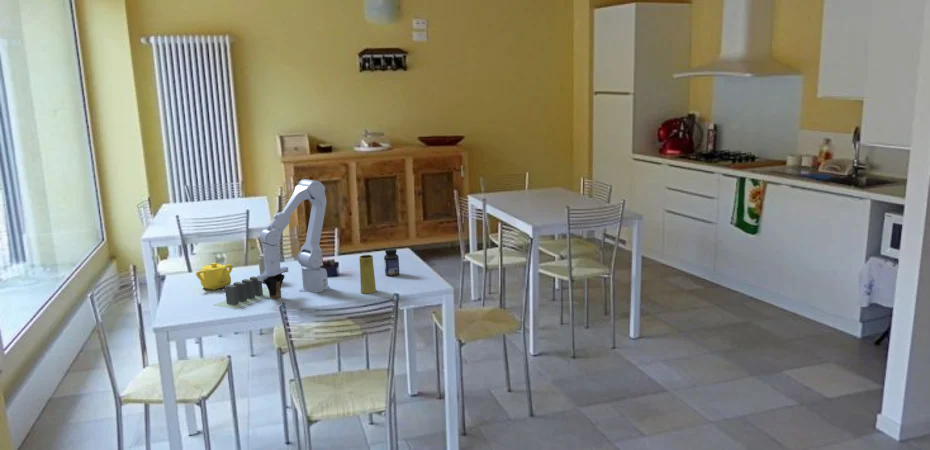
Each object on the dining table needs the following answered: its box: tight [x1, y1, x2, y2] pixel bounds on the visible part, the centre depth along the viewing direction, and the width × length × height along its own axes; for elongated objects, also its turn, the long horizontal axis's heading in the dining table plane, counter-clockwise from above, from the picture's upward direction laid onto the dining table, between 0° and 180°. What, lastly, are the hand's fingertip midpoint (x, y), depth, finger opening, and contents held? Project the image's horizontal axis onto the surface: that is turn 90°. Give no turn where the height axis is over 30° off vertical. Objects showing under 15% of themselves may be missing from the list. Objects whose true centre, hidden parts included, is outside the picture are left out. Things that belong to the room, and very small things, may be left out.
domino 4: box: [249, 276, 263, 296], centre depth 278 cm, size 2×4×7 cm, turn 61°
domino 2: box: [232, 281, 247, 302], centre depth 271 cm, size 2×4×7 cm, turn 61°
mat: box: [214, 287, 283, 310], centre depth 276 cm, size 25×12×1 cm, turn 151°
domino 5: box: [269, 281, 282, 300], centre depth 273 cm, size 2×4×7 cm, turn 61°
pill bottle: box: [383, 248, 400, 277], centre depth 301 cm, size 6×6×11 cm
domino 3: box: [241, 278, 255, 299], centre depth 275 cm, size 2×4×7 cm, turn 61°
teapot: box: [195, 262, 233, 291], centre depth 292 cm, size 14×13×10 cm
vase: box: [359, 254, 377, 295], centre depth 277 cm, size 6×6×14 cm
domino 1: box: [224, 284, 239, 305], centre depth 268 cm, size 2×4×7 cm, turn 61°
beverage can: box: [257, 253, 265, 284], centre depth 297 cm, size 6×6×12 cm
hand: (275, 294), depth 274 cm, fingers closed
